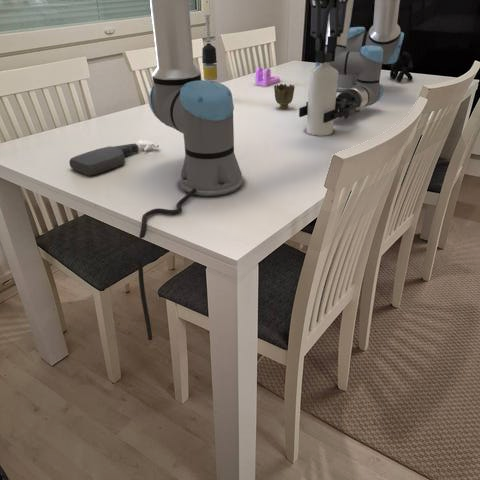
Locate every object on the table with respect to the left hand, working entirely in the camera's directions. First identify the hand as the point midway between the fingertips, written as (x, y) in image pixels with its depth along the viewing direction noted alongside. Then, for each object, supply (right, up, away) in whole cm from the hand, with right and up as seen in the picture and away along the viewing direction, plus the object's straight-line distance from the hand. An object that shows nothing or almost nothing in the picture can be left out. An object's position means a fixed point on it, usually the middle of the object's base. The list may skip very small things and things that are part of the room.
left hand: (325, 61), depth 131 cm
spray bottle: (-59, -30, -7) cm, 67 cm away
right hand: (-3, -15, +5) cm, 16 cm away
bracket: (-12, +18, +69) cm, 72 cm away
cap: (0, +2, -1) cm, 2 cm away
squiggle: (+47, +19, +69) cm, 86 cm away
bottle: (0, -18, +11) cm, 21 cm away
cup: (-9, -4, +34) cm, 35 cm away
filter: (-37, +4, +47) cm, 60 cm away
